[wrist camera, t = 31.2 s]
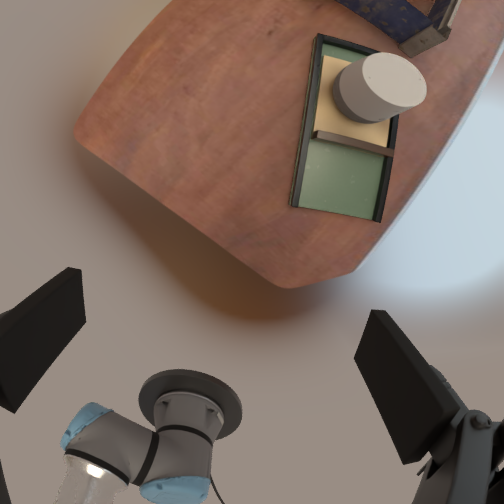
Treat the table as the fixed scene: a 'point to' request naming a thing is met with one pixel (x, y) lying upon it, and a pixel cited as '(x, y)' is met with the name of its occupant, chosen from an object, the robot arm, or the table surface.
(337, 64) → the carriage
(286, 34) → the table surface
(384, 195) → the rail base
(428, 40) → the building
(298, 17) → the table surface
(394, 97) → the smart speaker
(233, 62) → the table surface
